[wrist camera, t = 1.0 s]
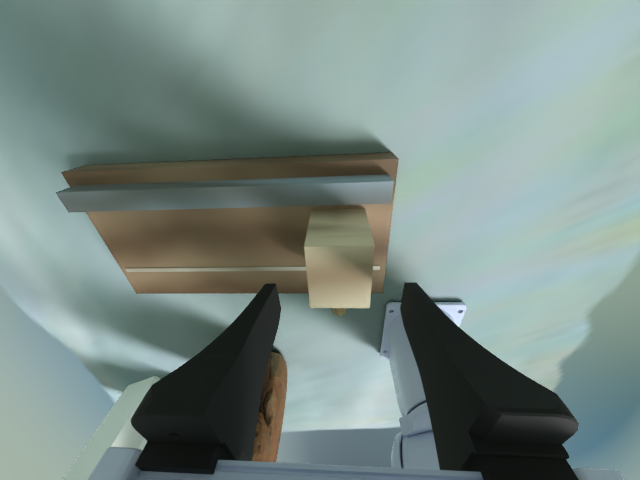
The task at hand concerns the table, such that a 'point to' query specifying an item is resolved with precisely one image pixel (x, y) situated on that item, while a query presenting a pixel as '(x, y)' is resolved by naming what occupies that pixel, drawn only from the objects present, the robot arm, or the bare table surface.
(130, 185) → the board
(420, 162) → the table surface
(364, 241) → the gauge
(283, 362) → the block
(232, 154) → the table surface
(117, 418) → the corner bracket
